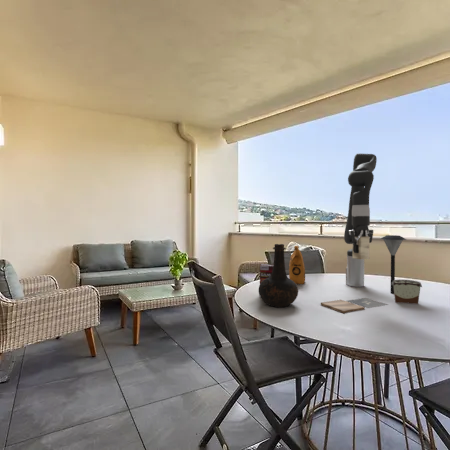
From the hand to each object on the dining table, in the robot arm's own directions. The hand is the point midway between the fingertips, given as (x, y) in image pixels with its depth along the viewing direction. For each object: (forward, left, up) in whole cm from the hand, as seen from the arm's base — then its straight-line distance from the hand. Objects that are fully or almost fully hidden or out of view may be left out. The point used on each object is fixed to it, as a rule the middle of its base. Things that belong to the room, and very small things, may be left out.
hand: (360, 252), depth 147 cm
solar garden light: (-9, +32, -24) cm, 41 cm away
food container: (+5, +23, -24) cm, 33 cm away
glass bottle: (-17, -33, -24) cm, 44 cm away
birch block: (0, 0, -3) cm, 3 cm away
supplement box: (-32, -29, -24) cm, 49 cm away
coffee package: (-53, +4, -24) cm, 58 cm away
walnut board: (-1, -10, -24) cm, 26 cm away
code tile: (-1, +5, -24) cm, 24 cm away
